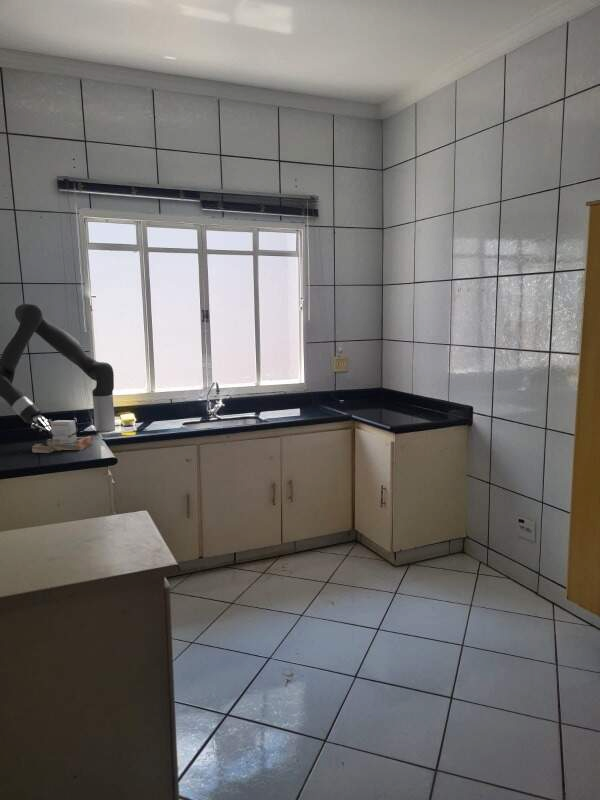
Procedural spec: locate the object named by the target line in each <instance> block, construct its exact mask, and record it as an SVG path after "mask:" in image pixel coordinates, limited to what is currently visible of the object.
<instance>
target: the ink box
mask: <svg viewBox="0 0 600 800" xmlns="http://www.w3.org/2000/svg"><path fill="white" fill-rule="evenodd" d="M51 428H52V438H53V444H77V443H76V441H77V437H78V436H77V430H76V429H77V427H76V421H75V419H74V420H67V419H66V420H64V419H63V420H62V419H61V420H59V419H57V420H54V421H52V422H51Z"/></svg>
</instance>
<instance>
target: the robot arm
mask: <svg viewBox="0 0 600 800" xmlns="http://www.w3.org/2000/svg"><path fill="white" fill-rule="evenodd" d="M43 312H44V311H43V309H42V308H41V307H40V306H38V305H35V304H32V303H31V304H30V303H23V304H20V305H18V306H17V307H16V308H15V310H14V316H15V319H16V320H17V321H18V323H19V325H18V329H17V330H16V332H15V334H14V335H13V337H11V339H10V340H9V342H8V343H7V345H6V346H5V348H4V349H3V351H2V353H1V356H0V398H2V399H3V400H4V401H5V402H6V403H7V404H8V405H9V406H10V407H11V408H12V409H13V410H14V412H16V413H15V414H17V415H18V416H19V417H20V418H21V419H23V420H22V421H24V422H25V423H27V424H30V425H31V426H30V427H29V429H30V430H32V431H34V432H36V433H38V434H41V435H46V436H47V437H49V439H52V440H53V438H52V428H51V422H53V421H52V420H53V419H51V418H49V419H47V418H46V416H43V415H42V410H41V409H40V408H39V407H38V406H37V405H36V404H35V403H34V402H33V401H32V400H31V399H30V398H28V397H27V396H26V395H25V394H24V393H23V392H22V391H21V390H20V389H19V388H17V387H16V386H14V385H13V383H14V382H13V380H14V378H15V373H16V368H17V366H18V365H19V362H20V360H21V357H22V356H23V353H24V352H25V349H26V347H27V345H28V343H29V342H30V340H31V338H32V336H33V335H34V333H35V334H37V335H38V336H39V337H40V338H42V340H44V341H45V342H46V343H47V344H48V345H50V346H51V347H52V348H53V349H54V350H56V351H57V352H58V353H59V354H61V355H62V356H63V357H65V358H66V359H68V360H69V361H70V362H72V363H73V364H74V365H76V366H77V367H78V368H79V369H80V370H81V371H82V372H83V373H85V374H86V375H87V377H89V379H91V380H93V381H94V382H95V387H94V388H93V389H92V406H93V418H94V430H95V429H96V430H98V431H99V432H100V433H103V432H111V431H112V432H113V431H115V430H116V420H115V419H116V418H115V408H114V396H113V395H114V394H113V392H114V387H115V382H114V380H115V375H114V369H113V366H112V365H111V364H110V363H108V362H104V361H103V362H102V361H98V360H96V359H94V358H93V357H91V356H90V355H89V354H88V353H87V352H85V350H84V348H83V346H82V345H81V343H80V342H79V341H78V340H77V339H76V338H75V337H74V336H72V335H71V334H69V333H68V332H67V331H65V330H63V329H61V328H60V327H58V326H56V325H55V324H53V323H51V322H50V321H48V320H47V319H45V318H44V313H43ZM99 432H98V433H99Z"/></svg>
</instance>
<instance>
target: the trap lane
mask: <svg viewBox="0 0 600 800" xmlns="http://www.w3.org/2000/svg"><path fill="white" fill-rule="evenodd" d="M76 437H77V441H76V443H77V444H53V440H52V439H51V438H48V439H46V445H44V444H43V443H34V445H32V447H31V448H32V449H31V451H32V453H38V454H39V453H40V454H42V453H44V454H45V453H46V454H49V453H53V452H55V451H61V450H80V451H82V449H83V450H85V449H87V448H89V446H90V447H91V445H92V446H93V437H92V435H91V436H90V435H88V436H86V437H82V436H80V437H78V436H76ZM86 447H87V448H86ZM84 448H85V449H84Z"/></svg>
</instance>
